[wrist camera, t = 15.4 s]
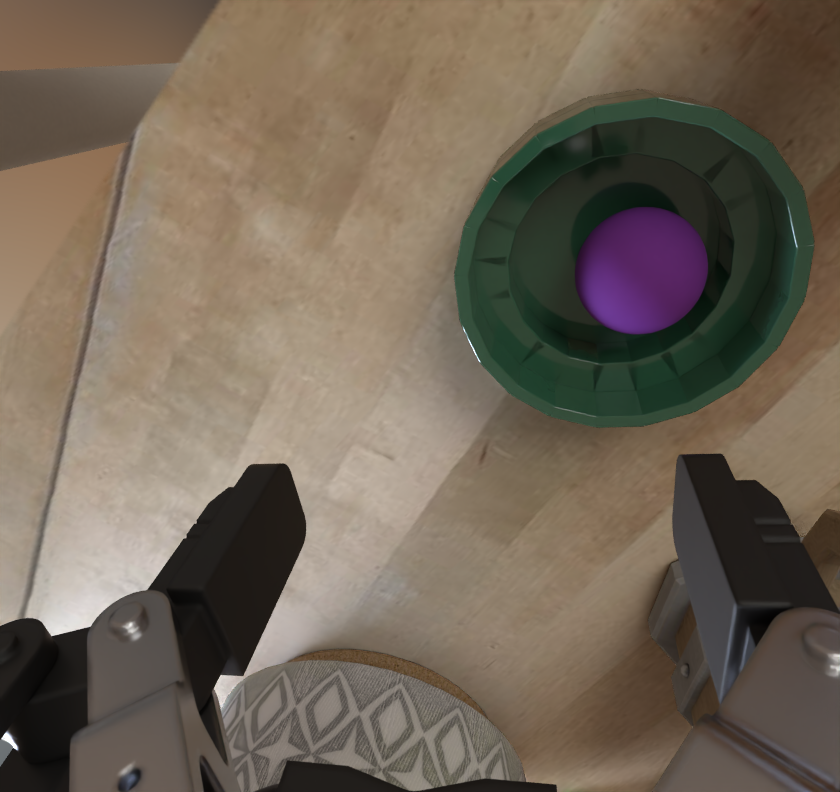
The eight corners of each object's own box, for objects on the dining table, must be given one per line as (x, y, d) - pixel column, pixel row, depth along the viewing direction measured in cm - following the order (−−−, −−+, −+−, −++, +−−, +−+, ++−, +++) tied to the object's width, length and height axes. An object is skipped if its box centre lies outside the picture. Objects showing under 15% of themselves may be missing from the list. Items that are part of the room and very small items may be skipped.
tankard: (828, 691, 39) (963, 1001, 26) (632, 652, 41) (671, 926, 28) (1003, 448, 29) (1362, 765, 16) (732, 408, 30) (864, 668, 18)
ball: (559, 317, 28) (602, 365, 24) (556, 207, 26) (603, 237, 21) (665, 297, 28) (727, 341, 24) (672, 185, 26) (743, 211, 21)
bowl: (482, 380, 32) (473, 431, 28) (453, 115, 26) (435, 129, 22) (749, 368, 29) (784, 423, 25) (790, 64, 23) (846, 69, 19)
